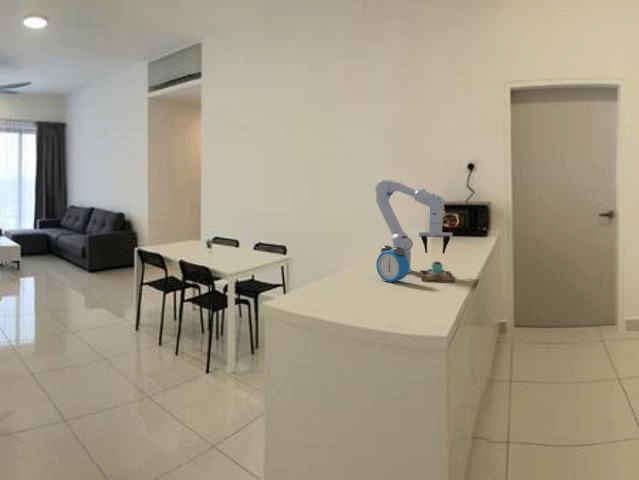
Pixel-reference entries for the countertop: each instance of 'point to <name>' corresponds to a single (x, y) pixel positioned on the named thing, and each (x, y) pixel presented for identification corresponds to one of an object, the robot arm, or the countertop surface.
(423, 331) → the countertop surface
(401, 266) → the alarm clock
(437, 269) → the connector
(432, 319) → the countertop surface
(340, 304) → the countertop surface
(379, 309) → the countertop surface
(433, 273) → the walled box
